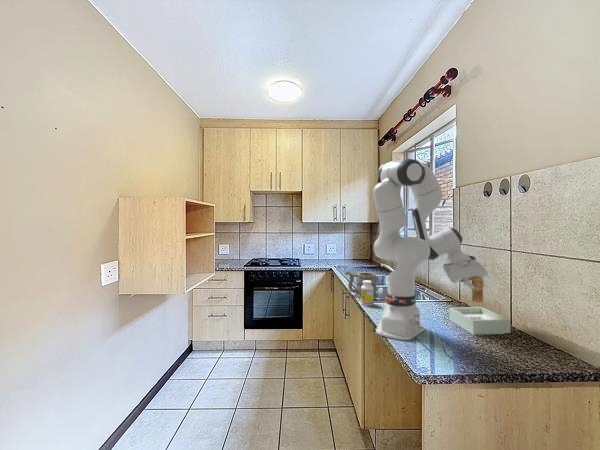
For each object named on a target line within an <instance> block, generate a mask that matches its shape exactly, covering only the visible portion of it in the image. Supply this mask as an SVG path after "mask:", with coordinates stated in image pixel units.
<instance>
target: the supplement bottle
mask: <svg viewBox="0 0 600 450" xmlns="http://www.w3.org/2000/svg"><path fill="white" fill-rule="evenodd" d="M374 300H375V299H374V296H373V286H372V285H371V281H369V280H365V281H363V285H362V286H361V299H360V302H361V305H362V306H367V307H369V306H373V305H374V302H375V301H374Z"/></svg>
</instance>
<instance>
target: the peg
mask: <svg viewBox="0 0 600 450" xmlns="http://www.w3.org/2000/svg"><path fill="white" fill-rule="evenodd" d="M483 280H484V279H483V278H480V277H472V281H471V283H472V284H475V286H476V288H475V289H473V290H472V289H471V302H474V303H484V288H483V284H484V281H483Z"/></svg>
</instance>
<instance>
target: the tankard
mask: <svg viewBox="0 0 600 450" xmlns="http://www.w3.org/2000/svg"><path fill="white" fill-rule="evenodd" d="M344 275H345V276H347V275H349V281H348V284H347V285H348V290H349V291H350V292H351V293H354V297H356V298H357V299H359V298H360V300H361V286H362V285H363V281H365V280H369V281H371V285H372V286H373V296H374V300H376V299H378V298H379V294H378V293H376V291H377V290H378V288H377V287H378V286H377V284H376V283H377V282H378V281H377V280H378V278H376V273H374V272H358V273H353V272H351V271H349V270H348V271H346V272H344ZM354 278H355V281H356V283H357V284H356V287H355V289H354V288H353V283H354Z"/></svg>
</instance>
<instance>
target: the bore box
mask: <svg viewBox="0 0 600 450" xmlns="http://www.w3.org/2000/svg"><path fill="white" fill-rule="evenodd" d="M448 311H449V313H448V318H449V321H451V322H452V323H454V324H456V325H457V326H459V327H460V328H461V329H463V330H465V331H467V332H468V333H469V334H472V335H473V336H475V335H477V336H478V335H508V333H510V334H511V319H509V318H507V317H504V316H502V315H501V314H498V313H496V312H494V311H491V310H489V309H487V308H484V307H482V306H467V307H466V306H464V307H461V306H460V307H449V309H448ZM505 333H507V334H505Z"/></svg>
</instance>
